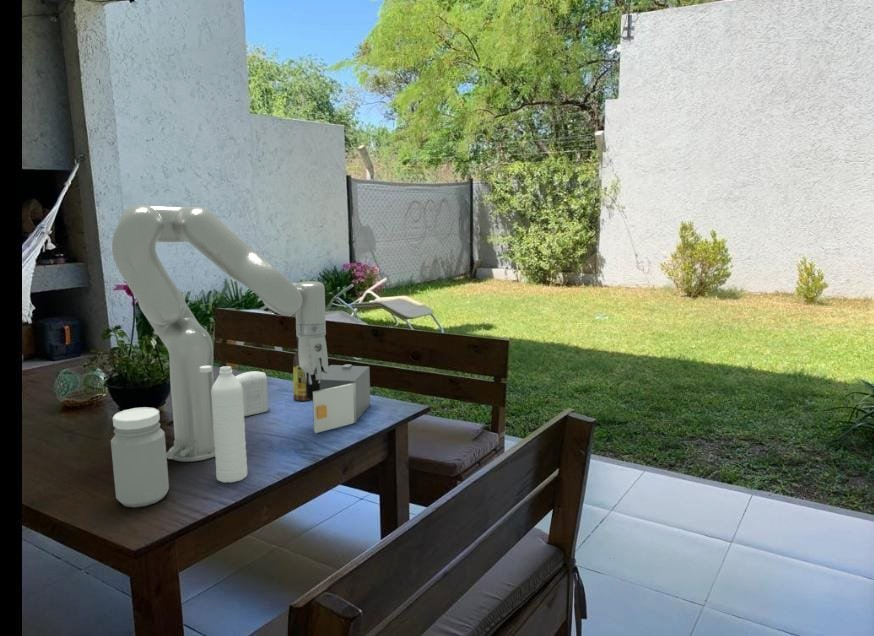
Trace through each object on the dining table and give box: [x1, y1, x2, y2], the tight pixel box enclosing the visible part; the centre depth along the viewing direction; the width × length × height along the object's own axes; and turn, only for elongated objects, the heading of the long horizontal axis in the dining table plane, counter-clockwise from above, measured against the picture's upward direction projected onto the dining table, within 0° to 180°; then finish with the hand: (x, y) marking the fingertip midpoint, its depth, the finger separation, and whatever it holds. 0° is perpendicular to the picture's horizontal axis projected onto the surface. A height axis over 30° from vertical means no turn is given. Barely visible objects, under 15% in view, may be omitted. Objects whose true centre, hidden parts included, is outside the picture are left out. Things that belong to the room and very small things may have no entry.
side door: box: [312, 383, 357, 434], centre depth 163 cm, size 2×13×11 cm, turn 130°
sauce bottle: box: [292, 335, 311, 402], centre depth 189 cm, size 7×6×20 cm
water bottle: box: [200, 365, 248, 484], centre depth 133 cm, size 9×6×25 cm
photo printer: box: [234, 370, 269, 417], centre depth 176 cm, size 10×4×12 cm, turn 134°
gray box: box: [312, 363, 371, 422], centre depth 177 cm, size 16×14×13 cm
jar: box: [110, 406, 170, 508], centre depth 123 cm, size 10×10×18 cm
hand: (313, 397), depth 162 cm, fingers closed
